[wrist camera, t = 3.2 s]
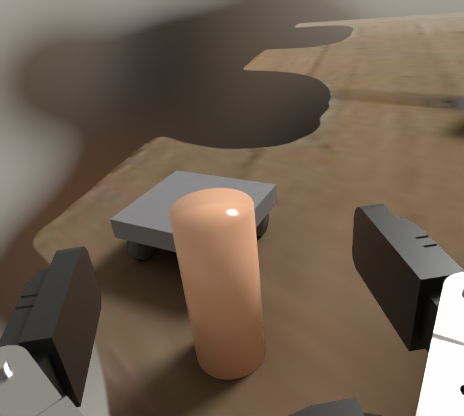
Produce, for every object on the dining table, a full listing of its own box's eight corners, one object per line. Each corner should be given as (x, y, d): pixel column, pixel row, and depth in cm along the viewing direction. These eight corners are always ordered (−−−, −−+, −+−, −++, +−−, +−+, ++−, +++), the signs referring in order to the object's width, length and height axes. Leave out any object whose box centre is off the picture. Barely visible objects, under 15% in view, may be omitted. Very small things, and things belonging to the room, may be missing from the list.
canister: (217, 317, 34) (197, 183, 28) (276, 336, 31) (267, 194, 25) (183, 365, 30) (151, 221, 24) (246, 390, 28) (229, 238, 22)
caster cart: (183, 209, 50) (176, 170, 47) (278, 227, 44) (276, 184, 42) (122, 262, 41) (110, 219, 39) (229, 292, 36) (223, 244, 34)
